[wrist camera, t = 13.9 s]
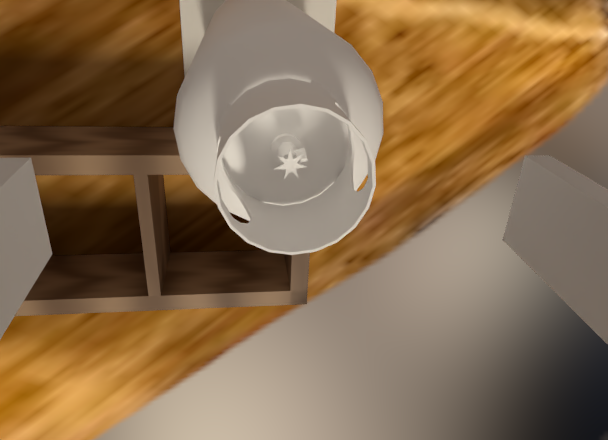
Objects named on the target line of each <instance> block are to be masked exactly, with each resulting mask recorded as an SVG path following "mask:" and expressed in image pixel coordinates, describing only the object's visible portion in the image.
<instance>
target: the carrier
mask: <svg viewBox="0 0 608 440" xmlns="http://www.w3.org/2000/svg"><path fill="white" fill-rule="evenodd" d="M173 128H174V127H79V126H0V158H31V160H32V165H33V169H34V174H35V175H134V183H135V191H136V199H137V207H138V215H139V223H140V231H141V239H142V247H143V253H133V254H94V255H55V256H51V257H50V259H49V260H48V262H47V264H46V265H45V267H44V269H43V270H42V272H41V273H40V275H39V277H38V278H37V280H36V282H35V283H34V285H33V287H32V288H31V290H30V291H29V293H28V295H27V296H26V298H25V300H24V301H23V303H22V305H21V306H20V308H19V309H18V311H17V313H16V314H15V316H28V315H52V314H77V313H101V312H125V311H150V310H174V309H199V308H223V307H247V306H272V305H296V304H307V288H308V272H309V255H310V253H303V254H296V255H288V254H280V253H272V252H267V251H265V250H250V251H211V252H172V253H170V242H169V231H168V221H167V210H166V200H165V189H164V178H163V175H189V173H188V171H187V170H186V168H185V166H184V165H183V163H182V162H181V159H180V155H179V151H178V146H177V142H176V137H175V133H174V129H173Z"/></svg>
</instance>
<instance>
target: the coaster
mask: <svg viewBox="0 0 608 440" xmlns="http://www.w3.org/2000/svg"><path fill="white" fill-rule="evenodd" d="M224 1H225V0H180V15H181V30H182V45H183V60H184V75H185V76H186V74H187V72H188V70H189V67H190V65H191V63H192V61H193V59H194V56H195V54H196V52H197V50H198V48H199V45H200V43H201V41H202V39H203V37H204V34H205V32H206V30H207V28H208V26H209V24H210V21H211V19H212V17H213V15H214V13H215V11H216V10H217V9H218V8H219V7H220V6H221V5H222V4H223V2H224ZM286 1H288V2H290V3H291V4H292V5H294V6H295V7H297V8H298V9H300V10H301V11H303V12H304V13H306V14H307V15H309V16H310V17H311V18H313V19H314V20H316V21H317V22H319V23H320V24H322V25H323V26H325V27H326V28H327V29H329V30H330V31H332V32H333V33H334V28H335V14H336V0H286Z"/></svg>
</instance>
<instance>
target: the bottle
mask: <svg viewBox="0 0 608 440" xmlns="http://www.w3.org/2000/svg"><path fill="white" fill-rule="evenodd" d="M173 129H174V133H175V137H176V142H177V146H178V151H179V155H180V159H181V162H182V163H183V165H184V166H185V168H186V170H187V171H188V173H189V175H190V176H191V178H192V180H193V181H194V183H195V185H196V186H197V188H199V189H200V190H201V191H202V192H203V193H204V194H205V195H207V196H208V197H209V198H210V199H211V200H212V201H213V202H215V203H216V204H217V205H218V209H219V210H220V212H221V214H222V215H223V217H224V219H225V220H226V222H227V224H228V225H229V227H230V228H231V229H232V230H233V231H234V232H235V233H237V234H238V235H239V236H240V237H241V238H242V239H244V240H245V241H246V242H247V243H249V244H251V245H254V246H256V247H258V248H261V249H263V250H265V251H267V252H272V253H280V254H288V255H296V254H303V253H310V252H316V251H318V250H320V249H323V248H325V247H327V246H330V245H332V244H334V243H337V242H338V241H339V240H341V239H342V238H343V237H344V236H346V235H347V234H348V233H349V232H350V231H352V230H353V229H354V228H355V227H356V226H357V225H358V223H359V222H360V220H361V219H362V217H363V216H364V214H365V213H366V212H367V210H368V209H369V206H370V203H371V200H372V196H373V193H374V190H375V187H376V177H375V159H376V156H377V153H378V149H379V146H380V143H381V139H382V136H383V101H382V99H381V96H380V93H379V90H378V87H377V84H376V81H375V78H374V76H373V73H372V71H371V69H370V68H369V67H368V66H367V64H366V63H365V62H364V60H363V59H362V58H361V57H360V55H359V54H358V53H357V52H356V50H355V49H354V48H353V47H352V45H351V44H349V43H348V42H346V41H345V40H343V39H342V38H341V37H339V36H338V35H336V34H335V33H333V32H332V31H330V30H329V29H327V28H326V27H325V26H323V25H322V24H320V23H319V22H317V21H316V20H314V19H313V18H311V17H310V16H309V15H307V14H306V13H304V12H303V11H301V10H300V9H298V8H297V7H295V6H294V5H292V4H291V3H290V2H288V1H286V0H225V1H224V2H223V4H222V5H221V6H220V7H219V8H218V9H217V10H216V11H215V13H214V15H213V17H212V19H211V21H210V24H209V26H208V28H207V30H206V32H205V34H204V37H203V39H202V41H201V43H200V45H199V48H198V50H197V52H196V54H195V56H194V59H193V61H192V63H191V65H190V67H189V70H188V72H187V74H186V76H185V78H184V81H183V83H182V85H181V87H180V89H179V92H178V94H177V100H176V109H175V118H174V128H173ZM367 174H368V180H367V182H366V184H365V186H364V188H363V189H361V190H360V191H359V192H357V191H356V190H357V189H358V187H359V186H360V184H361V183H362V181H363V180H364V178H365V177H366V176H367ZM230 213H233V214H235V215H237V216H239V217H241V218H244V219H246V220H248V221H249V223H240V222H239V221H237V220H236V219H234V218H233V217H232V216H231V214H230Z"/></svg>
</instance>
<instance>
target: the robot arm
mask: <svg viewBox="0 0 608 440" xmlns="http://www.w3.org/2000/svg"><path fill="white" fill-rule="evenodd" d="M503 241H504V242H505V243H506V244H507V245H508V246H509V247H510V248H511V249H512V250H513V251H514V252H515V253H516V254H517V255H518V256H519V257H520V258H521V259H522V260H523V261H524V262H525V263H526V264H527V265H528V266H529V267H530V268H531V269H532V270H533V271H534V272H535V273H536V274H537V275H538V276H539V277H541V279H542V280H543V281H544V282H545V283H546V284H547V285H548V286H549V287H550V288H551V289H552V290H553V291H554V292H556V294H557V295H559V296H560V298H561V299H562V300H563V301H564V302H565V303H567V304H568V305H569V306H570V307H571V308H572V309H573V310H574V311H575V312H576V313H577V314H578V315H579V316H580V317H581V318H582V319H583V320H584V321H585V322H586V323H587V324H588V325H589V326H590V327H591V328H592V329H593V330H594V331H595V332H596V333H597V334H598V335H599V336H600V337H601V338H602V339H603V340H604V341H605V342H606V343H607V344H608V189H606V188H604V187H603V186H601V185H599V184H598V183H596V182H594V181H592V180H591V179H589V178H587V177H586V176H584V175H582V174H581V173H579V172H577V171H575V170H574V169H572V168H570V167H569V166H567V165H565V164H563V163H562V162H560V161H558V160H557V159H555V158H553V157H551V156H525V158H524V162H523V166H522V169H521V173H520V177H519V181H518V184H517V188H516V192H515V195H514V199H513V203H512V207H511V211H510V214H509V218H508V222H507V225H506V229H505V233H504V237H503ZM51 256H52V250H51V245H50V241H49V236H48V232H47V227H46V223H45V218H44V214H43V209H42V205H41V200H40V196H39V192H38V187H37V183H36V178H35V174H34V169H33V165H32V160H31V158H0V339H1V337H2V336H3V334H4V332H5V331H6V329H7V327H8V326H9V324H10V322H11V321H12V319H13V318H14V316H15V314H16V313H17V311H18V309H19V308H20V306H21V305H22V303H23V301H24V300H25V298H26V296H27V295H28V293H29V291H30V290H31V288H32V287H33V285H34V283H35V282H36V280H37V278H38V277H39V275H40V273H41V272H42V270H43V269H44V267H45V265H46V264H47V262H48V260H49V259H50V257H51Z"/></svg>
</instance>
